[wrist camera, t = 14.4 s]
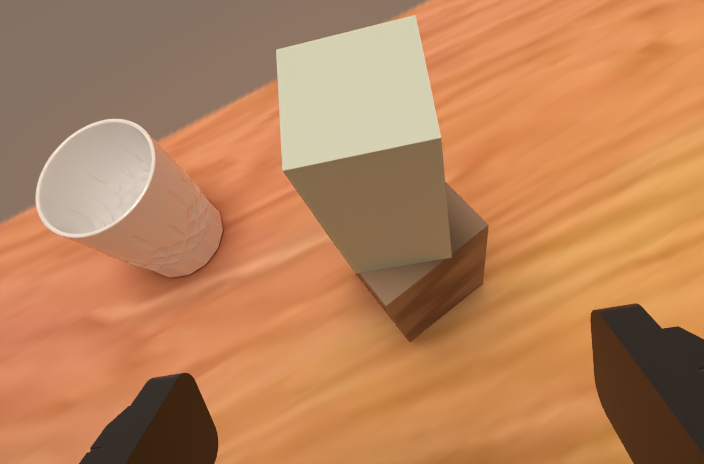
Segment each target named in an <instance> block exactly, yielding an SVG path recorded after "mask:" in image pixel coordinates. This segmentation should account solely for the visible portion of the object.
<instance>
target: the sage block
mask: <svg viewBox="0 0 704 464" xmlns="http://www.w3.org/2000/svg"><path fill="white" fill-rule="evenodd" d="M276 55H277V73H278V93H279V112H280V131H281V150H282V169H283V172H284V173H285V175H286V176H287V178H288V179H289V181H290V182H291V183H292V185H293V186H294V188H295V189H296V190H297V192H298V193H299V195H300V196H301V197H302V199H303V200H304V202H305V203H306V204H307V206H308V207H309V209H310V210H311V211H312V213H313V214H314V216H315V217H316V219H317V220H318V221H319V223H320V224H321V226H322V227H323V228H324V230H325V231H326V233H327V234H328V235H329V237H330V238H331V240H332V241H333V242H334V244H335V245H336V247H337V248H338V250H339V251H340V252H341V254H342V255H343V257H344V258H345V259H346V261H347V262H348V264H349V265H350V266H351V268H352V269H353V271H354V272H355V273H356V274H358V273H363V272H369V271H375V270H381V269H387V268H393V267H399V266H405V265H411V264H417V263H423V262H429V261H435V260H440V259H446V258H452V253H451V242H450V231H449V220H448V208H447V197H446V186H445V175H444V164H443V153H442V142H441V135H440V130H439V125H438V120H437V116H436V111H435V106H434V101H433V96H432V92H431V87H430V82H429V77H428V73H427V68H426V63H425V58H424V54H423V49H422V44H421V39H420V35H419V30H418V25H417V20H416V15H414V16H410V17H406V18H402V19H398V20H394V21H390V22H386V23H382V24H378V25H374V26H370V27H366V28H362V29H358V30H354V31H350V32H346V33H342V34H338V35H334V36H330V37H326V38H322V39H318V40H314V41H310V42H306V43H302V44H298V45H294V46H290V47H286V48H282V49H278V50H276Z"/></svg>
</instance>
